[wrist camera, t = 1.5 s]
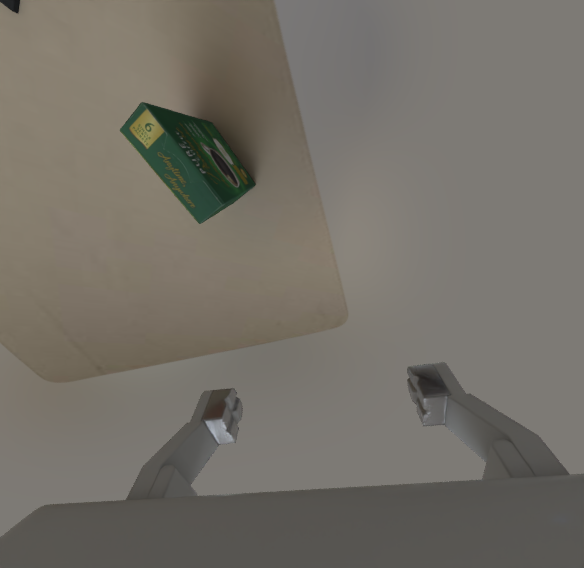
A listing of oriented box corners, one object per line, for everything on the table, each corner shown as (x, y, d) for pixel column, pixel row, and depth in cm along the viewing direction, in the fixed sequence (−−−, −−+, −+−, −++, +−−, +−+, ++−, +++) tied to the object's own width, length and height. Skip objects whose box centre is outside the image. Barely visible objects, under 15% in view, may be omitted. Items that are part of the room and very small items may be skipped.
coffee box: (191, 136, 28) (112, 128, 16) (210, 118, 27) (141, 97, 16) (238, 198, 31) (200, 229, 19) (257, 184, 30) (228, 208, 19)
